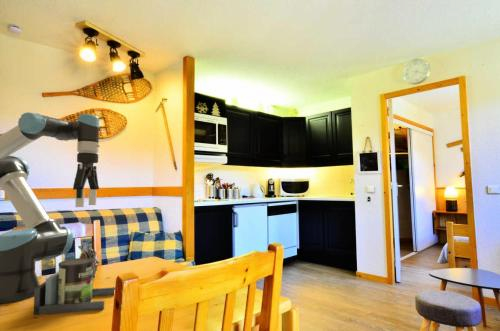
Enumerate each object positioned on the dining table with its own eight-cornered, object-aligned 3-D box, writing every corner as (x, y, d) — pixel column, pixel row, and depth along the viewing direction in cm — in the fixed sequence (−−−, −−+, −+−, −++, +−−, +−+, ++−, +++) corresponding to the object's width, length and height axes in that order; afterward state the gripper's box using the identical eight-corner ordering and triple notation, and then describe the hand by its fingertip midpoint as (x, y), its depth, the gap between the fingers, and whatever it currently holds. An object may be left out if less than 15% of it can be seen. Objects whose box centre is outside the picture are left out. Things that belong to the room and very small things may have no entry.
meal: (72, 276, 130) (73, 246, 131) (82, 274, 134) (83, 245, 135) (88, 283, 121) (88, 250, 122) (98, 280, 124) (99, 249, 125)
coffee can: (99, 299, 103) (100, 258, 104) (76, 311, 93) (78, 265, 94) (74, 297, 105) (75, 257, 106) (49, 309, 95) (50, 264, 96)
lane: (33, 315, 91) (34, 288, 91) (55, 298, 104) (55, 275, 105) (103, 309, 94) (103, 284, 95) (115, 294, 108) (115, 271, 108)
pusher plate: (44, 311, 93) (46, 278, 93) (60, 298, 103) (61, 269, 104) (50, 311, 93) (51, 278, 94) (65, 298, 104) (66, 269, 104)
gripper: (86, 149, 108) (84, 207, 106) (107, 156, 132) (106, 204, 130) (64, 148, 106) (62, 208, 105) (89, 156, 131) (87, 204, 129)
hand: (86, 206), depth 118 cm, fingers open, 13 cm apart
